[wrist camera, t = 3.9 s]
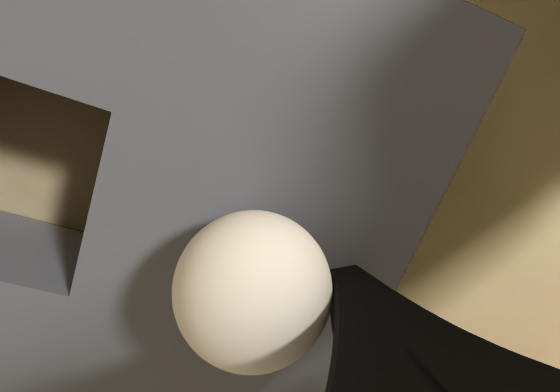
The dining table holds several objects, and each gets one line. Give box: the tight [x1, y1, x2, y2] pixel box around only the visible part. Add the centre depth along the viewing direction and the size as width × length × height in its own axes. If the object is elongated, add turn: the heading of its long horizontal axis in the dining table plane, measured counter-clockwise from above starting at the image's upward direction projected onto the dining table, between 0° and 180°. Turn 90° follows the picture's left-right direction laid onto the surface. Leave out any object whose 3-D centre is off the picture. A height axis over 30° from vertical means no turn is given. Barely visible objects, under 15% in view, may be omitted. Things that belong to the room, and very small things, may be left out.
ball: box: [172, 210, 332, 375], centre depth 8 cm, size 4×4×4 cm
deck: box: [0, 0, 526, 392], centre depth 11 cm, size 15×15×4 cm
